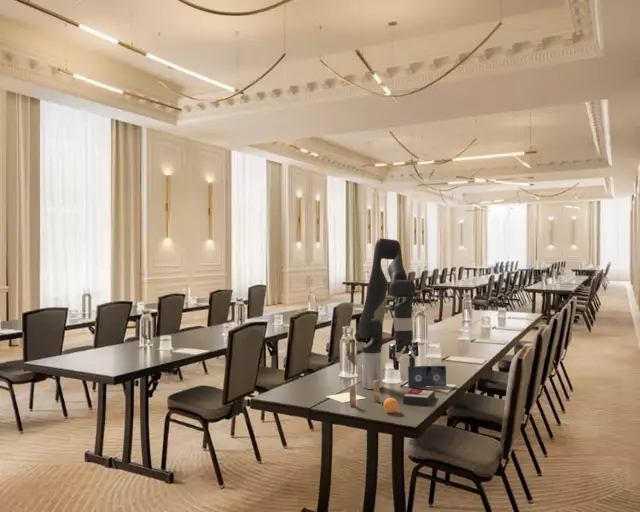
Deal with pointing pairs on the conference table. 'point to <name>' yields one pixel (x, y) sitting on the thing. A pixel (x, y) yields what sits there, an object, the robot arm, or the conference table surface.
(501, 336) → the conference table surface
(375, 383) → the post
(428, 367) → the vhs cassette tape
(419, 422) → the conference table surface
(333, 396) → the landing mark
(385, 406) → the ball
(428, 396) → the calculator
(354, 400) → the post
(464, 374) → the conference table surface
